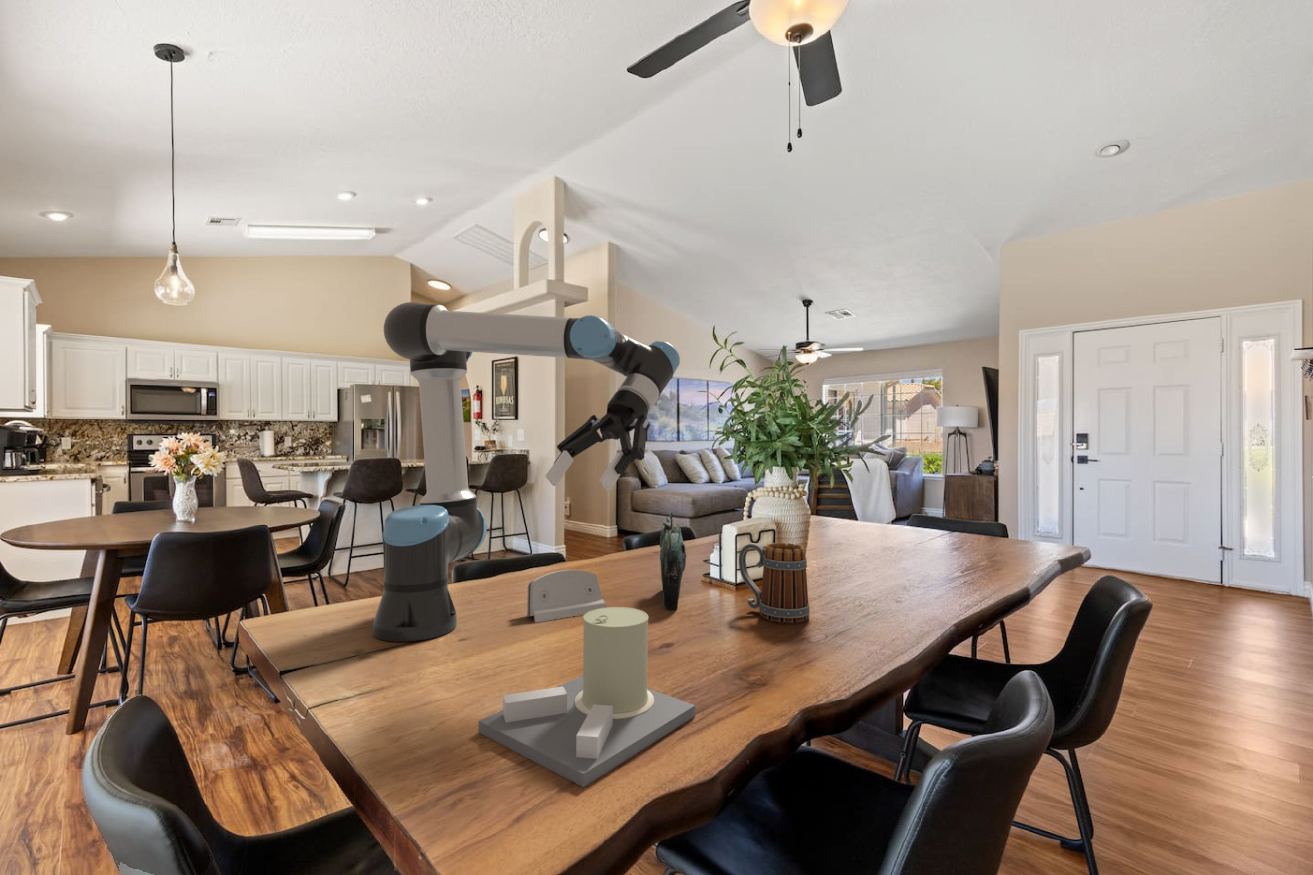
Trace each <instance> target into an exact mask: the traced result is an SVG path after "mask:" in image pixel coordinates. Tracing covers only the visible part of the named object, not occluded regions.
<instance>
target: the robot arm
mask: <svg viewBox="0 0 1313 875" xmlns="http://www.w3.org/2000/svg"><path fill="white" fill-rule="evenodd" d="M383 336H384V339H385V341H386V343H387V345H388V347H389V348H390V349H391V350H392V351H393V352H394V353H395V354H396V355H398V356H399V357H402V358H404V359H406V360H409V367H410V371H409V372H410V375H411V377H413V378H414V379H415V380H417V382H418V387H419V388H418V390H419V402H420V417H421V428H422V429H421V431H422V443H423V455H424V456H423V458H424V470H425V471H424V472H425V485H426V486H425V487H426V494H424V496H422V498H421V499H420V500H419V505H413V506H411V507H410V506H405V507H401V508H399V509H395V510H393V511H391V512H390V513H388V514H387V516H386V517H385V519H384V526H383V527H384V528H383V532H382V539H383V589H382V590H383V592H382V595H381V598H380V601H379V604H378V608H377V610H376V612H375V616H374V619H373V622H372V635H373V636H374V637H375V638H376V639H379V640H382V641H386V642H399V643H401V642H402V643H403V642H407V643H408V642H417V641H424V640H429V639H435V638H438V637H441V636H443V635H447V634H448V633H451V632H452V631H454V630H455V629H456V627H457V625H458V624H457V623H458V620H457V617H458V615H457V612H456V607H455V605H454V601H453V599H452V596H451V593H450V591H449V586H448V585H449V584H448V582H449V581H448V577H449V572H448V571H449V564H451V563H453V562H455V561H457V560H458V561H459V560H463V559H464V558H467V557H469V556H470V555H471V554H473V553H474V552H475V551H477V550H478V549H479V548H480V547H481V545H482V544H483V542H484V540H485V538H486V536H487V531H488V530H487V527H488V526H487V525H488V524H487V520H486V517H485V515H484V513H483V512H482V511H481V510H480V509H479V508H478V502H477V501H478V500H477V495H476V494H474V492H472V491H471V490H470V489H469V481H468V478H469V477H468V466H467V453H466V439H465V438H466V437H465V425H464V413H463V412H464V410H463V408H464V407H463V399H462V398H463V397H462V395H463V394H462V384H461V383H462V379H463V378H464V376H466V374H467V373H468V366H467V365H468V364H467V362H468V361H469V359H470V357H472V354H473V353H485V354H500V355H502V354H503V355H515V356H516V355H517V356H518V355H519V356H530V357H531V356H533V357H534V356H535V357H547V358H548V357H549V358H563V359H564V358H565V359H573V360H586V361H588V360H590V361H593V362H595V363H598V364H600V365H601V366H602V365H603V366H605V367H606V368H608V369H610V370H612V371H615V372H617V373H619V374H621V375H623V376H624V377H626V378H625V379H624V380H623V382H622V383H621V384H620V386H619V387H618V389H617V390H616V392H615V393H614V394H613V396H612V397H611V398H610V400H609V402H608V403H607V405H606V413H605V415H603V417H601V418H598V417H597V416H596V415H595V414H592V415H591V416H589V418H588V419H587V420H586V422H585V423H583V424H582V425H581V426H580V427H578V428H577V429H576V430H575V431H574V432H572V433H571V434H570V435H568V436H567V437H566V438H565V439H563V440H562V441H561V442H560V443H559V444H557V445H556V448H557V450H558V452H560V454H559V455H558V456H557V458H556V459H555V461H554V462H553V464H552V466H551V468H550V469H549V470H547V473H546V474H545V475H544V477H545V478H546V479H547V480H548V482H549V483H550V485H552V486H553V487H556V486H557V485H558V483H559V482H560V481H561V479H562V478H563V477H564V475H565V474H566V472H567V470H569V468H570V466H571V465H572V464H573V462H575V460H574V459H573V458H574V457H576V456H578V455H579V454H581V453H582V452H584V451H586V450H587V449H590V448H591V447H592V446H594V445H595V444H597V443H603V442H604V441H606V440H612V439H613V440H617V441H618V440H619V443H620V447H621V448H620V451H621V452H622V453H621V452H617V453H616V454H615V456H613V457H614V458H613V459H612V461H611V462H610V463H609V465H608V467H607V468H606V469H605V471H604V472H603V474H602V476H601V477H600V478H599V480H598V481H599V483H600V484H601V485H602V486H603V487H604V489H605V490H606V492H611V491H612V489H613V487H614V486H615V484H616V482H617V481H618V479H619V478H620V476H621V475H623V474H624V473H625V472H626V471H627V468H629V465H630V464H631V463H633V462H634V461H635V460H638V461H643V459H644V458H645V452H646V444H647V442H646V441H647V432H648V430H649V428H650V427H651V424H650V422H649V420H648V419H647V415H648V414H649V412H650V411H651V410H652V408H653V406H654V405H655V404H656V401H657V400H658V399H659V397H660V395H661V394H662V393H663V391H664V390H665V388H666V386H667V385H668V384H669V383H670V381H671V380H672V379H673V378H674V374H675V373H676V371H677V369H678V368H679V366H680V363H681V362H680V361H681V358H680V354H679V352H678V351H677V349H676V348H675V346H673V345H672V344H670V343H669V342H666V341H665V340H663V341H660V340H656V341H653V342H652V343H651V344H649V345H646V344H644V343H642V342H638V340H634V339H633V338H631V337H630V336H627V335H626V334H623V333H621V332H620V331H619V330H617V329H616V328H615V327H614V326H613V325H612V324H611V323H610V322H609V321H608V320H607V319H604V318H602V317H600V316H596V315H592V314H590V315H585V316H581V317H580V318H574V317H573V318H572V317H563V316H543V315H526V314H508V313H493V312H492V313H491V312H476V311H474V312H473V311H455V310H448V309H447V308H446V307H445V306H444V305H442V304H431V303H422V302H416V301H410V302H408V301H407V302H403V303H400V304H398V305H396V306H395V307H394V308H392V309H391V310H390V311H389V312H388V314H387V316H386V317H385V319H384V323H383ZM598 431H600V433H599V432H598ZM632 431H633V437H632V439H631V432H632ZM600 434H601V435H600ZM631 440H632V442H631Z"/></svg>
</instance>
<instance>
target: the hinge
mask: <svg viewBox="0 0 1313 875" xmlns="http://www.w3.org/2000/svg"><path fill="white" fill-rule="evenodd" d="M526 599H527V600H526V601H527V603H526V604H527V605H526V606H527V610H526V617H528V618H529V617H533V620H534V623H536V624H537V623H543V622H547V621H549V622H550V621H555V620H554V619H556V620H560V619H561V618H562V619H567V617H568V618H574V617H573V616H575V617H581V616H584V615H585V614H586V613H587V612H589V611H592V610H595V609H600V608H606V607H607V606H606V602H605V600H604V598H603V594H602V590H601V587H600V583H599V579H598V576H597V575H596V573H594V572H589V571H586V570H578V569H577V570H576V569H565V570H564V569H563V570H558V571H557V570H556V571H552V572H549V573H546V574H544V575H541V576H539V577H537V578H535V579H533V580H531V581H530V582H529V583H528V585H527V598H526ZM580 615H581V616H580ZM562 619H561V620H562Z"/></svg>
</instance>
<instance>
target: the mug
mask: <svg viewBox="0 0 1313 875" xmlns="http://www.w3.org/2000/svg"><path fill="white" fill-rule="evenodd" d="M750 549H753V550H755V551H757V552H758V555H759V561H758V562H757V563H756V566H757V568H758V569H759V568H762V567H763V568H762V569H763V570H762V580H761V590H760V588H759V587H758V586H757V584H756V583H755V582H754V581H753V580H752V578H751V576H750V574H749V572H748V568H747V562H746V560H747V558H746V557H747V554H748V552H749V550H750ZM807 561H808V560H807V557H806V548H805V547H804V546H802V545H801V544H795V543H787V544H786V542H778V543H777V542H774V543H773V542H772V543H767V544H766V546H765V548H764V547H763V546H762V545H761V544H759V543H756V542H751V543H747V544H746V545H744V546H743V547H742V548H741V550H740V552H739V555H738V567H739V572H740V575H741V578H742V579H743V581H744V583H745V584H746V586H747V588H749V589H750V591H751V592H752V593H753V594H754V596H755V598H752V597H751V598H749V599H747V604H748V606H749V607H750V608H751V609H759V614H760V616H761V617H762V618H763V619H764V620H766V621H768V620H769V622H772V621H773V622H772V623H776V622H777V623H778V624H784V623H785V624H786V625H788V624H789V625H793V624H801V623H804V622H806V621H807V620H809V617H810V613H811V611H810V610H811V609H810V603H809V594H808V578H807V577H808V576H807V575H808V574H807V568H808V562H807ZM755 599H756V600H755ZM777 623H776V624H777Z"/></svg>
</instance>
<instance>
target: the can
mask: <svg viewBox="0 0 1313 875" xmlns="http://www.w3.org/2000/svg"><path fill="white" fill-rule="evenodd" d="M582 616H583V617H582V620H583V623H582V624H583V628H582V630H583V660H582V661H583V663H582V665H583V669H582V670H583V674H582V676H583V695H582V702H583V704H584V705H585V706H586V707H587V708H589V709H591V708H592V706H593V704H595V705H608V706H613V714H620V713H627V712H631V711H635V710H637V709H639V708H641V707H643V706H644V705H645V704H646V703H647V701H648V694H647V688H648V637H649V636H648V635H649V634H648V630H649V617H650V616H649V615H648V614H647V612H645V611H644V610H641V609H638V608H633V607H628V606H627V607H624V606H610V607H609V606H606V608H600V609H595V610H592V611H589V612H587V613H586V614H585V615H582Z"/></svg>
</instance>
